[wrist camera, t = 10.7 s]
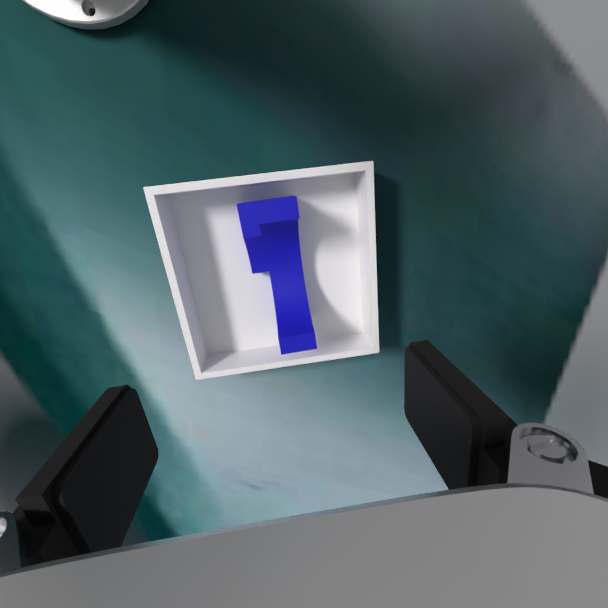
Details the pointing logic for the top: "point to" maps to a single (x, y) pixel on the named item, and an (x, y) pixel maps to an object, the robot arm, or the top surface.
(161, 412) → the top surface
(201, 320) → the tray
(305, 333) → the cable clip
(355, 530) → the robot arm
